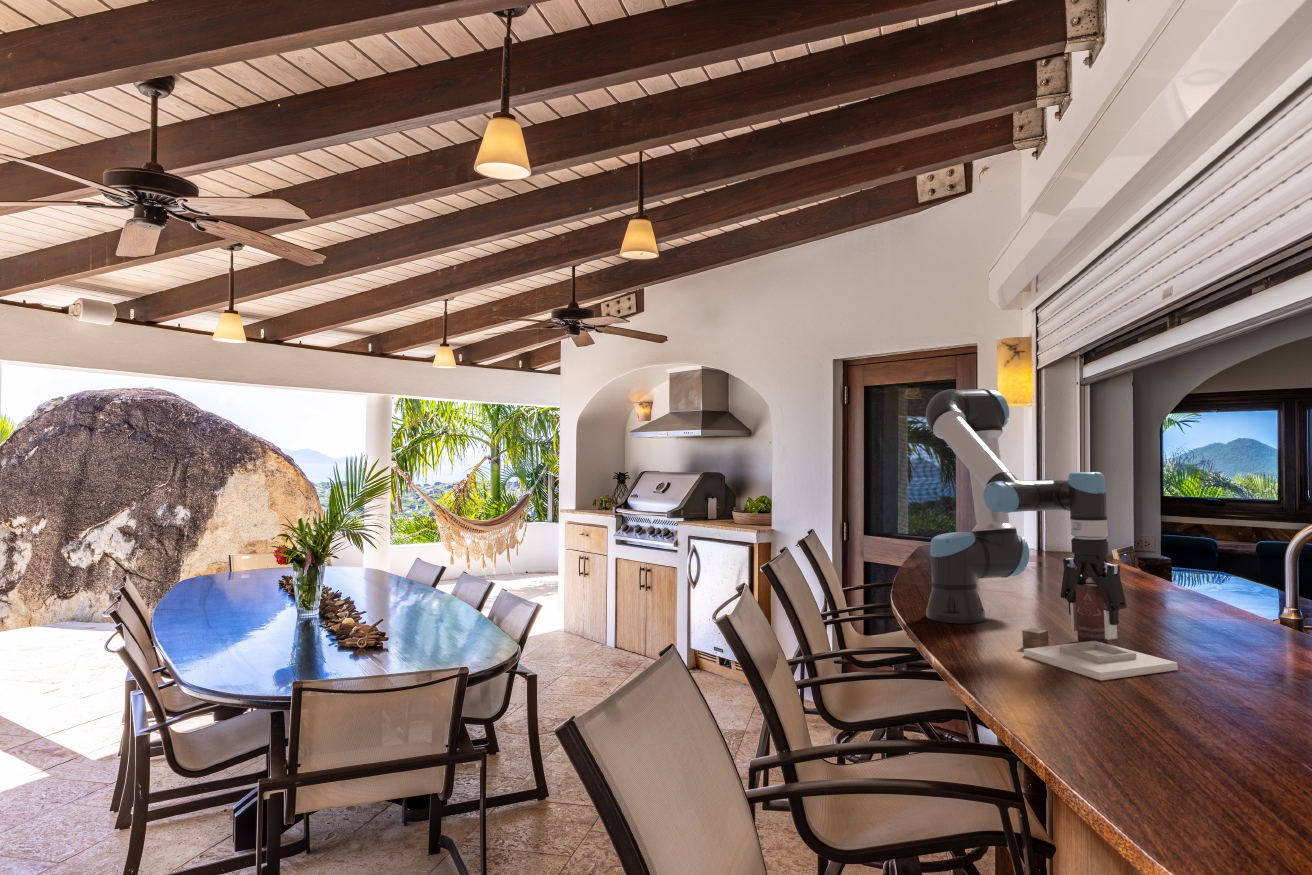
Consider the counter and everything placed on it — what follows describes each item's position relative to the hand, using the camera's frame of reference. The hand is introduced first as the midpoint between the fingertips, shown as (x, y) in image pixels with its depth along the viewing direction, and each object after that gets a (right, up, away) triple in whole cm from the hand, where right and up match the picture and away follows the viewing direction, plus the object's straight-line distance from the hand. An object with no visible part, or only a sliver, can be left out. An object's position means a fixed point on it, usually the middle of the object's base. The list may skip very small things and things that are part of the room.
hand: (1093, 634), depth 173 cm
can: (0, -3, +1) cm, 3 cm away
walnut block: (-14, -3, -1) cm, 15 cm away
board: (-8, -2, -15) cm, 17 cm away
